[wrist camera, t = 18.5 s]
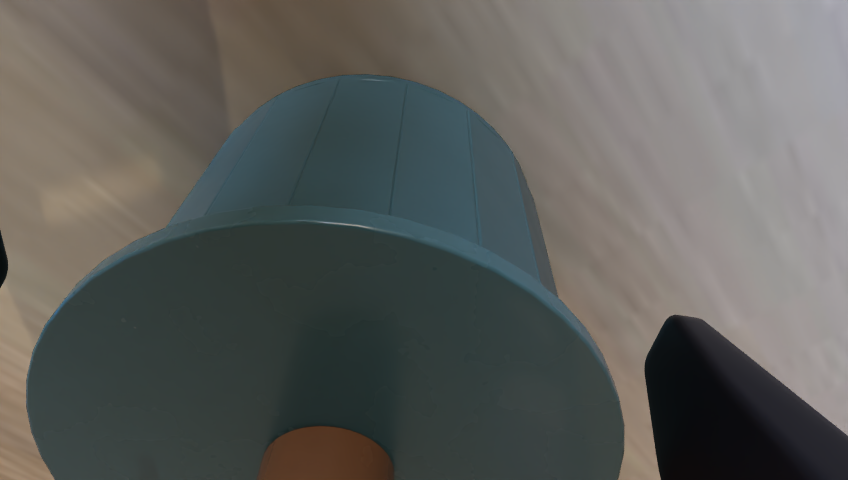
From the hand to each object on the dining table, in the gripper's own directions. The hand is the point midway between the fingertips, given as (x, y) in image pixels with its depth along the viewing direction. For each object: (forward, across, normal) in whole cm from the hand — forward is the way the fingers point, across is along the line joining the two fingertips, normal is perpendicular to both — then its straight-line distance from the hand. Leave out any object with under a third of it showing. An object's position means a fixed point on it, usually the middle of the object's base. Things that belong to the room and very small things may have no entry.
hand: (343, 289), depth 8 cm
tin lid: (+3, 0, +7) cm, 8 cm away
